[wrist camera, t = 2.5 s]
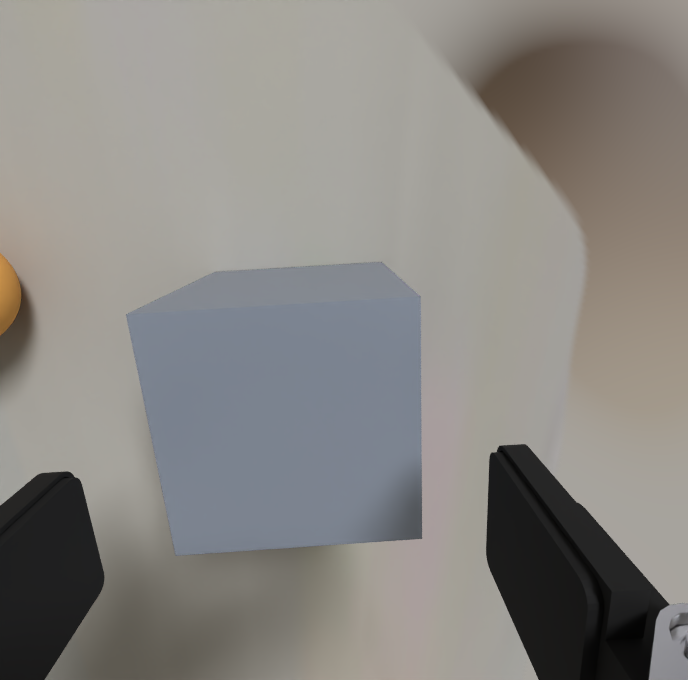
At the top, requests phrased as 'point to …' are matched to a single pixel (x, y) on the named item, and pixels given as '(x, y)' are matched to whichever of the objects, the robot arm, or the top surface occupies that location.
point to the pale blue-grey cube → (285, 407)
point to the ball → (8, 294)
